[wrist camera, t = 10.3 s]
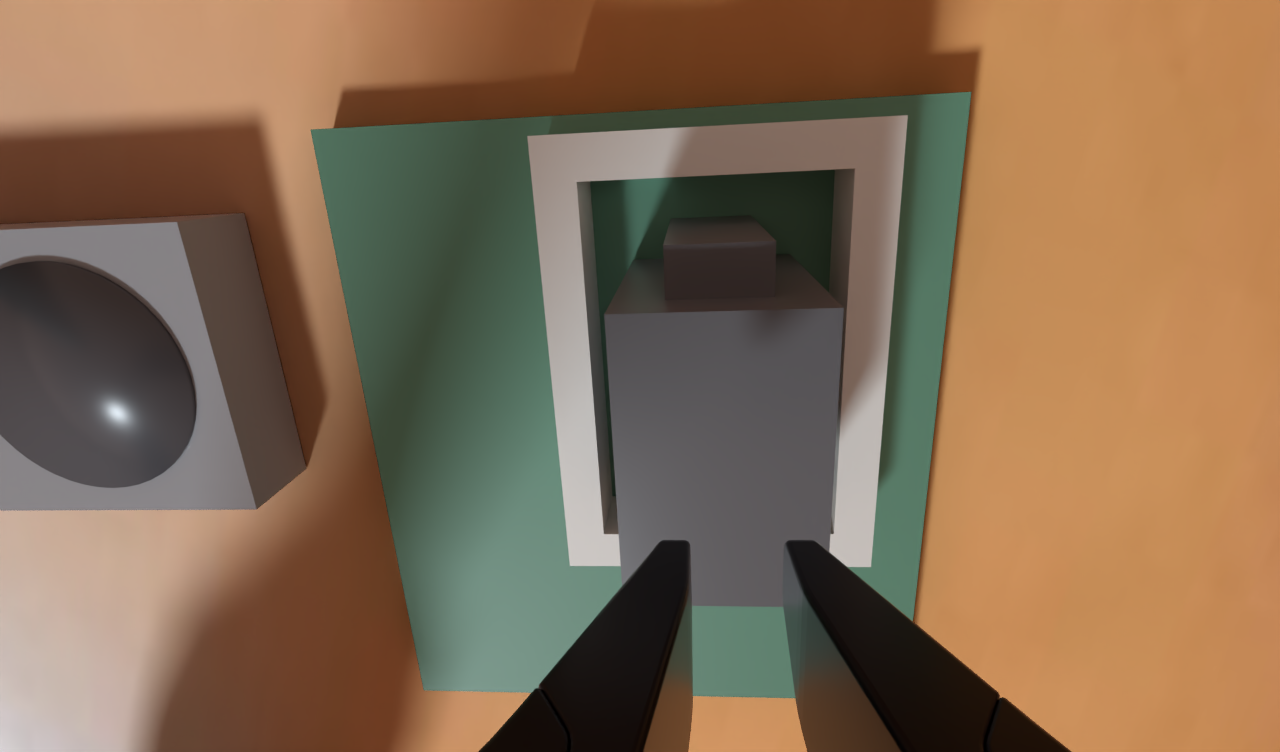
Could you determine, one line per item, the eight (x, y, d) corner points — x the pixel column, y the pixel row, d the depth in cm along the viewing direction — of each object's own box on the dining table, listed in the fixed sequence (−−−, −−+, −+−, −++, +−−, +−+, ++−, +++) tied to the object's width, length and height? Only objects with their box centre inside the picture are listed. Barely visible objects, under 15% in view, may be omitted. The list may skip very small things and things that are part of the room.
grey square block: (77, 470, 21) (-5, 513, 19) (-15, 225, 19) (-124, 236, 16) (306, 468, 21) (253, 512, 18) (244, 213, 18) (172, 222, 15)
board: (434, 668, 23) (398, 740, 20) (331, 131, 17) (260, 126, 14) (894, 676, 22) (925, 755, 19) (954, 95, 16) (1013, 82, 13)
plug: (643, 467, 19) (623, 605, 13) (631, 219, 16) (600, 255, 11) (783, 466, 18) (826, 607, 13) (791, 213, 16) (847, 246, 10)
